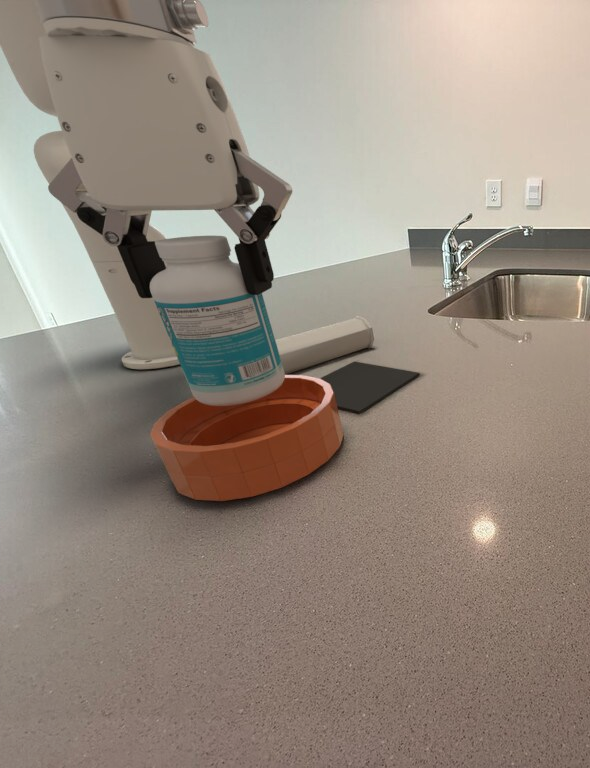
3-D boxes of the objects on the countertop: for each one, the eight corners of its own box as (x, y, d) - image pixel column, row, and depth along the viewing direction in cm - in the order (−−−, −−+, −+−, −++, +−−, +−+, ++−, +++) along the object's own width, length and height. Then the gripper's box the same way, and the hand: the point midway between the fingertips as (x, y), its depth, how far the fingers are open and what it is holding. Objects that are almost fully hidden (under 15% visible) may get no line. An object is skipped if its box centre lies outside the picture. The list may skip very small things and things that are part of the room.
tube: (194, 379, 48) (374, 325, 66) (175, 356, 50) (355, 310, 68) (204, 412, 51) (374, 352, 69) (186, 389, 53) (355, 337, 71)
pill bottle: (223, 375, 41) (174, 233, 35) (298, 372, 42) (263, 233, 36) (174, 412, 34) (103, 245, 28) (265, 408, 35) (214, 244, 29)
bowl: (139, 480, 37) (113, 429, 35) (278, 408, 49) (265, 367, 47) (246, 525, 32) (224, 468, 30) (373, 432, 44) (364, 387, 42)
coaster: (287, 397, 52) (286, 394, 52) (354, 363, 62) (354, 361, 62) (360, 414, 48) (359, 411, 48) (419, 375, 58) (419, 372, 57)
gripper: (283, 42, 30) (330, 280, 38) (25, 35, 29) (130, 286, 37) (233, 2, 24) (303, 300, 32) (-108, -10, 22) (55, 308, 30)
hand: (209, 291), depth 34 cm, fingers closed on pill bottle, 7 cm apart
